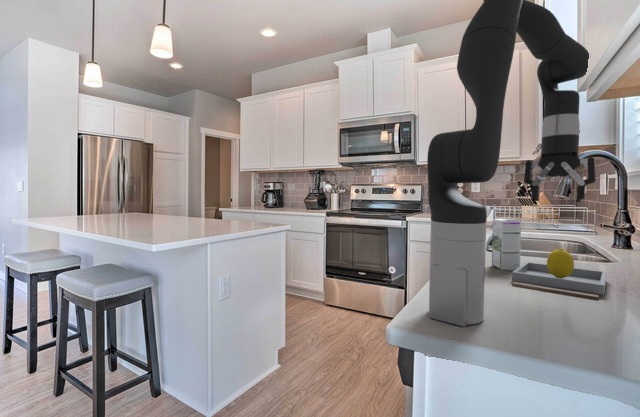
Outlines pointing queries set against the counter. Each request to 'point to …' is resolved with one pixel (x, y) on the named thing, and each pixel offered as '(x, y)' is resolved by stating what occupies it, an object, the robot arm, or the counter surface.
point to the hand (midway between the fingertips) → (557, 201)
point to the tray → (575, 281)
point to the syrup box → (506, 243)
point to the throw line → (556, 290)
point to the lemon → (560, 263)
